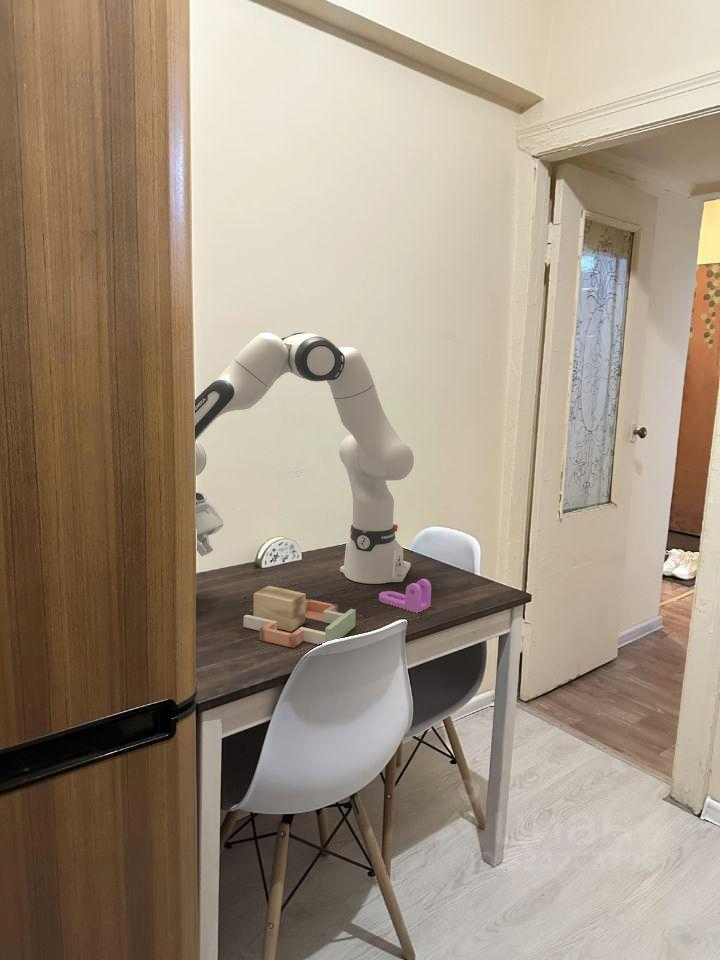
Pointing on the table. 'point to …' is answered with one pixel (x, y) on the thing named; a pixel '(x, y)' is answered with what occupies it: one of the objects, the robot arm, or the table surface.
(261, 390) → the robot arm
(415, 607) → the bracket
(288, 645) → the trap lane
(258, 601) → the maple block
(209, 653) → the table surface
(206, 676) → the table surface
